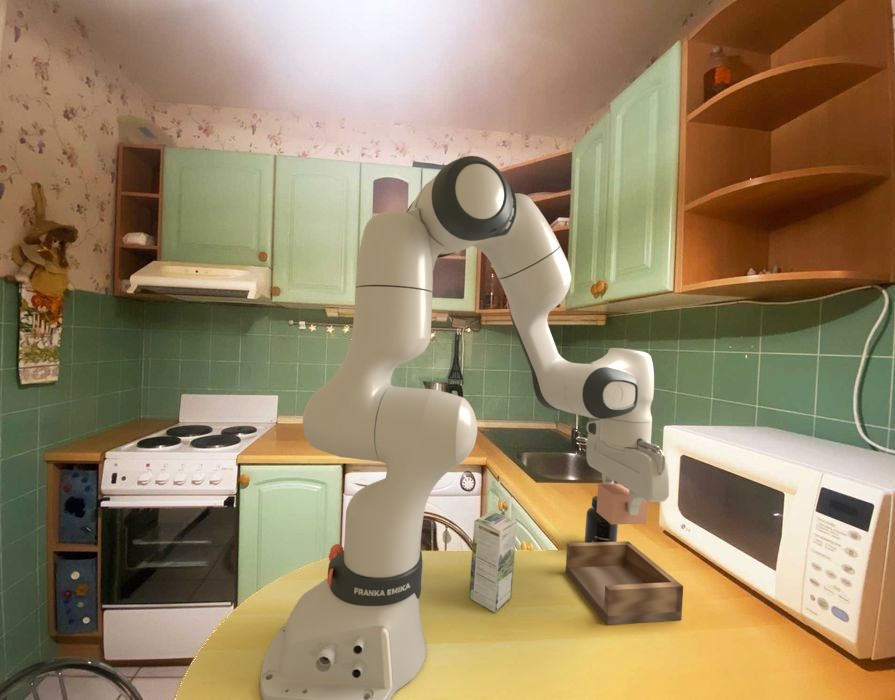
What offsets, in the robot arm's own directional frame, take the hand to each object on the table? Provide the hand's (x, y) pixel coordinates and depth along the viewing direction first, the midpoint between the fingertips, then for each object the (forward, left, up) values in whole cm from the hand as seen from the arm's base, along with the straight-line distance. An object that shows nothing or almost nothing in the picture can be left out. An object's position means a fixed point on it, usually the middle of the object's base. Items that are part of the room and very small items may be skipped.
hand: (620, 505), depth 71 cm
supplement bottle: (+6, +14, -17) cm, 23 cm away
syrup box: (-24, 0, -17) cm, 30 cm away
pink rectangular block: (0, 0, -2) cm, 2 cm away
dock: (+1, 0, -17) cm, 17 cm away
